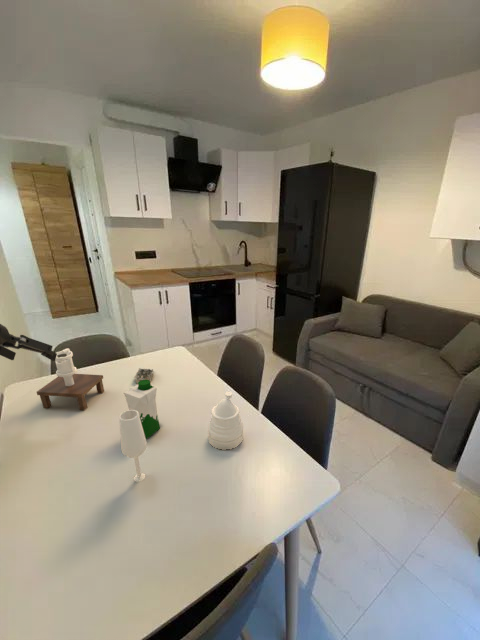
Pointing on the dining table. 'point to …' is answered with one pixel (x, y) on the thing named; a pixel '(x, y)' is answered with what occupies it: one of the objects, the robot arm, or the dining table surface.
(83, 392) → the low table
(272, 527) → the dining table surface
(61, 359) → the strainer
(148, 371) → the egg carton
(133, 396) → the milk carton
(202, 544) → the dining table surface
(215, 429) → the honey pot
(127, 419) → the champagne flute
